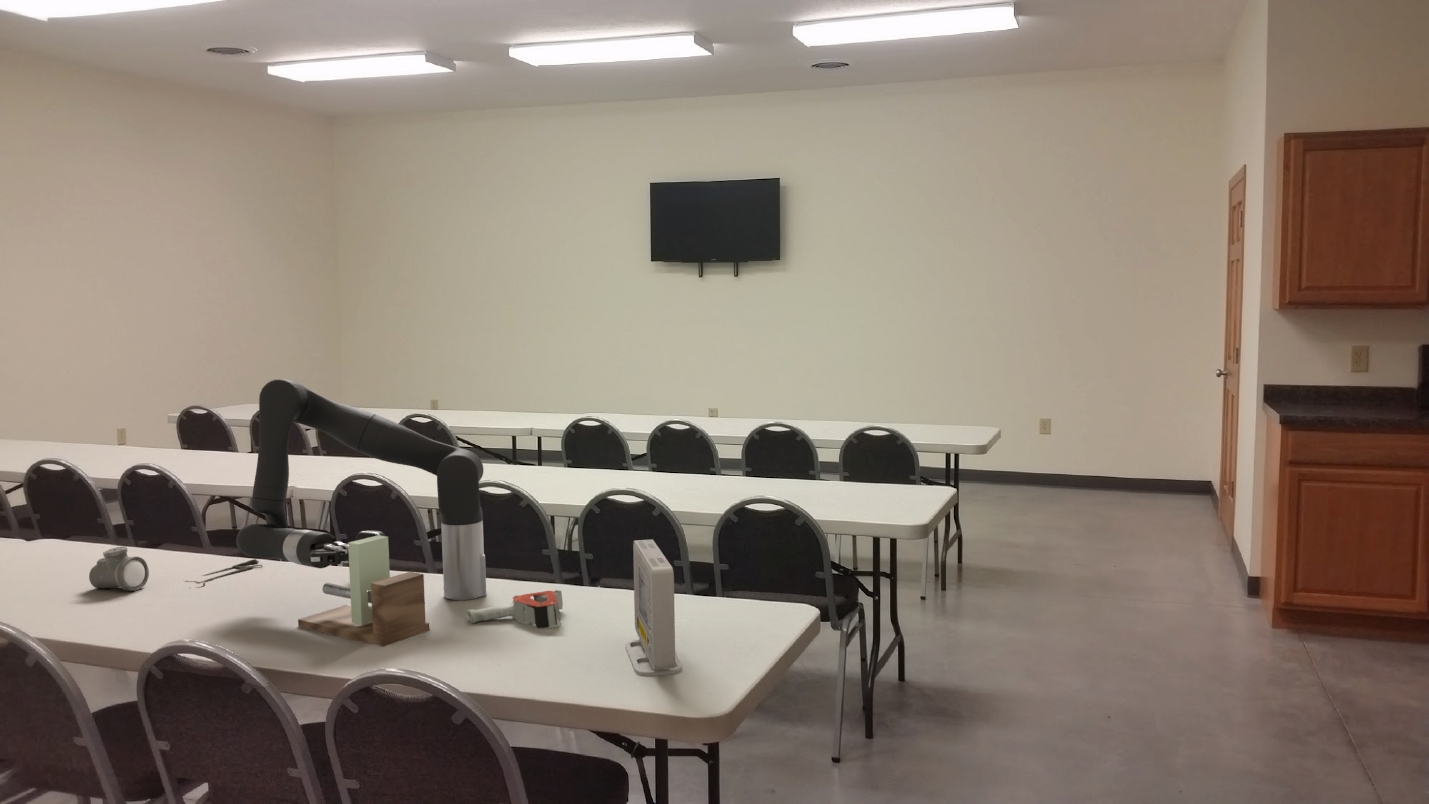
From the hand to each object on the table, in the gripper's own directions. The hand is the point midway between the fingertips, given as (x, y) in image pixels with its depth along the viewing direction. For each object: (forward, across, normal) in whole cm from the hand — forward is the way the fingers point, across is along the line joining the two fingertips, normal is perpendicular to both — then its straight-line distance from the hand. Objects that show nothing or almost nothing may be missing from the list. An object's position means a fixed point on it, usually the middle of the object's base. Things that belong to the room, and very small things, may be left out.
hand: (364, 558), depth 216 cm
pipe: (-1, 0, +9) cm, 10 cm away
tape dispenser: (+24, +22, +16) cm, 36 cm away
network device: (+61, +15, +15) cm, 65 cm away
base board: (-1, 0, +15) cm, 15 cm away
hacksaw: (-67, +12, +16) cm, 70 cm away
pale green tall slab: (+1, 0, +13) cm, 13 cm away
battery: (-33, +29, +15) cm, 46 cm away
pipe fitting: (-78, -9, +15) cm, 80 cm away
